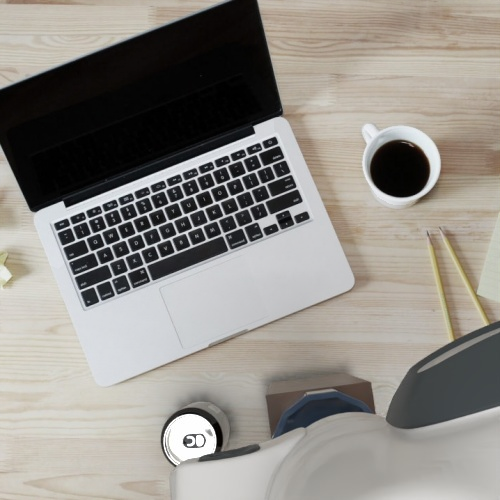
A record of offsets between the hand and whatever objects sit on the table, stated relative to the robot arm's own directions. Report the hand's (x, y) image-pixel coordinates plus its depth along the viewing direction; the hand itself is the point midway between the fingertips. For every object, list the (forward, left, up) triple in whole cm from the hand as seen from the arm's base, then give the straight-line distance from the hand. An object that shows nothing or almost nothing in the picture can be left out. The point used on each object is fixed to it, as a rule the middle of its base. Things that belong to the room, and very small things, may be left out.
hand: (339, 464), depth 47 cm
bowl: (0, 0, -13) cm, 13 cm away
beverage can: (+14, 0, -40) cm, 42 cm away
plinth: (0, 0, -40) cm, 40 cm away
